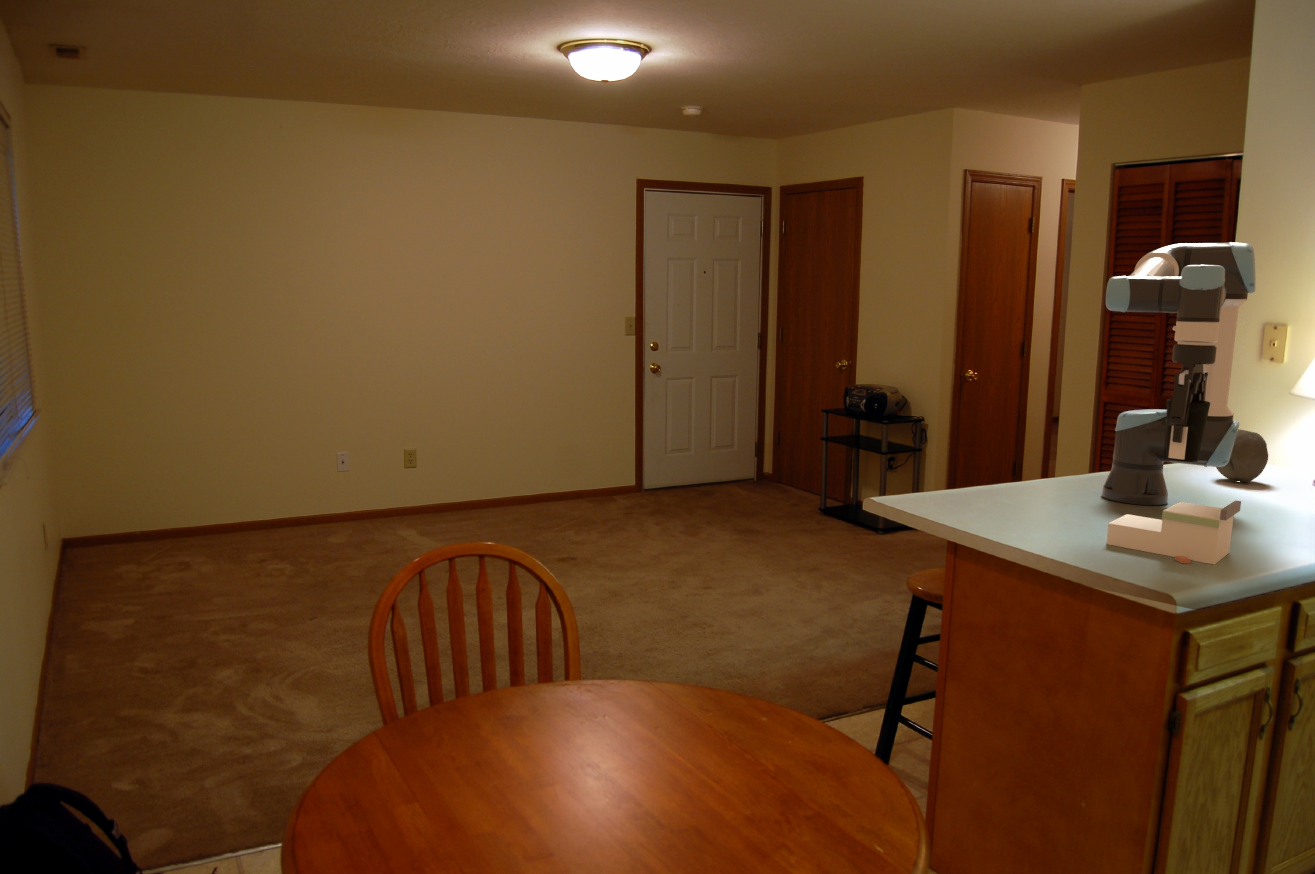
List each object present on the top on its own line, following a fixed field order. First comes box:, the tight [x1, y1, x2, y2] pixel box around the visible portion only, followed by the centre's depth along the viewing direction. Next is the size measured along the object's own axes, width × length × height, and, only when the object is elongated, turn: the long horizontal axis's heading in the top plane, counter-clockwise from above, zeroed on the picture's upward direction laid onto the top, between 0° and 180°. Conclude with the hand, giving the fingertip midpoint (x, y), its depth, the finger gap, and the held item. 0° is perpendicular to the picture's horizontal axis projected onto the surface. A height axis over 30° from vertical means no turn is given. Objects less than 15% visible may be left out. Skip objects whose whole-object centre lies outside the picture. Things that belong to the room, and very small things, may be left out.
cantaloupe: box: [1215, 428, 1269, 483], centre depth 265 cm, size 14×14×15 cm
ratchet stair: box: [1106, 499, 1242, 565], centre depth 189 cm, size 16×21×11 cm
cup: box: [1166, 398, 1210, 462], centre depth 187 cm, size 8×8×12 cm
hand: (1182, 456), depth 188 cm, fingers closed on cup, 8 cm apart
